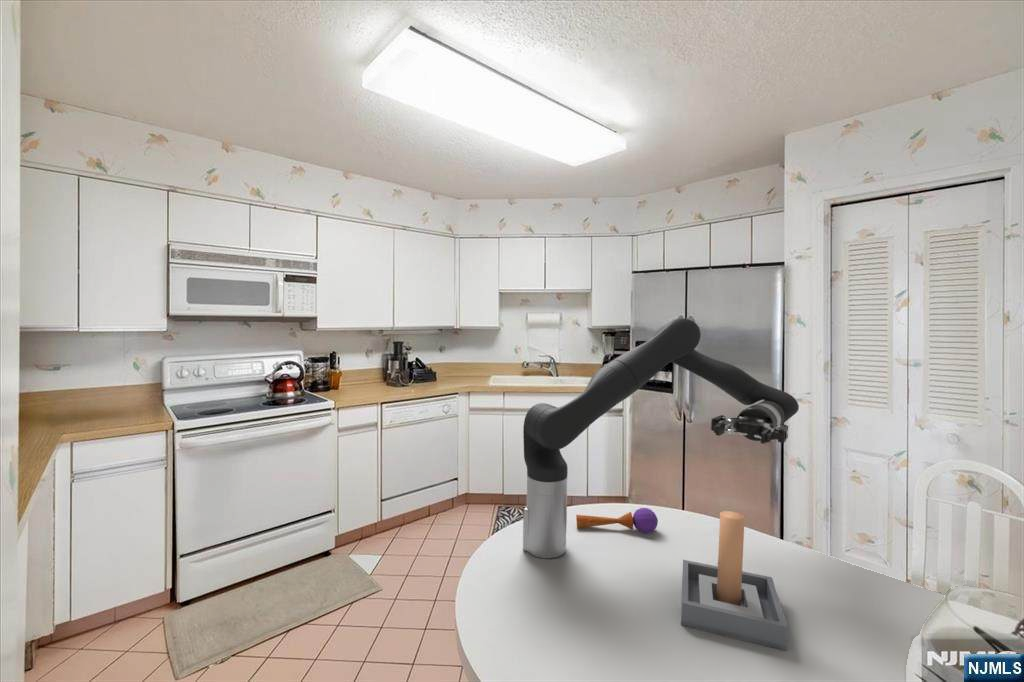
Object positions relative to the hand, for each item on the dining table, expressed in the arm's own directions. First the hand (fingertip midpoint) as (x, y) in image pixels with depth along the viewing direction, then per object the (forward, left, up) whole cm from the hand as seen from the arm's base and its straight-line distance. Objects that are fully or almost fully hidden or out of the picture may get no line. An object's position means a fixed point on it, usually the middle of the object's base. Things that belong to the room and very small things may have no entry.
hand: (739, 434), depth 92 cm
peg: (-2, -12, -29) cm, 32 cm away
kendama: (-26, +12, -30) cm, 42 cm away
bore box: (-2, -12, -30) cm, 32 cm away
